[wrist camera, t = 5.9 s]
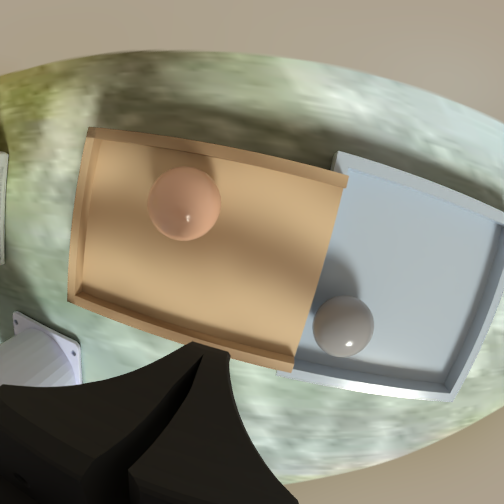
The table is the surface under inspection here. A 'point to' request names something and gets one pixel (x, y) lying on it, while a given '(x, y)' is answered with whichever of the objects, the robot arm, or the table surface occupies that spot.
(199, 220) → the pebble terracotta
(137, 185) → the oak tray
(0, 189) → the tea box
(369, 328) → the pebble grey
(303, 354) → the ceramic dish
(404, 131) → the table surface
